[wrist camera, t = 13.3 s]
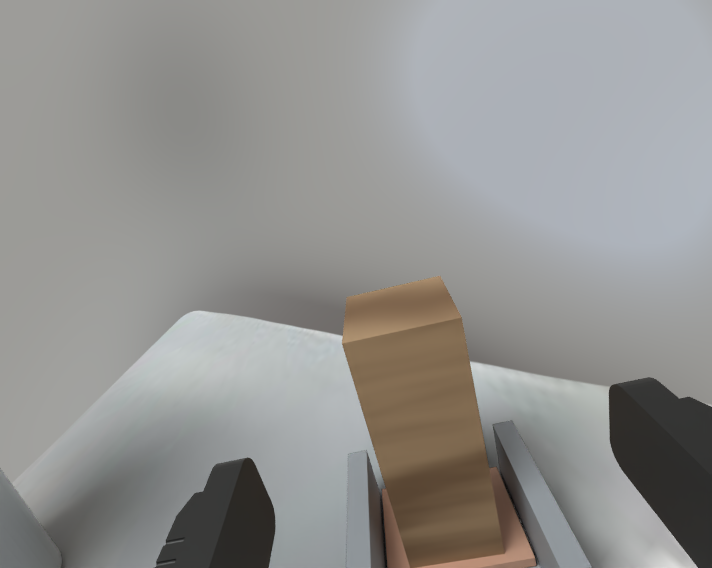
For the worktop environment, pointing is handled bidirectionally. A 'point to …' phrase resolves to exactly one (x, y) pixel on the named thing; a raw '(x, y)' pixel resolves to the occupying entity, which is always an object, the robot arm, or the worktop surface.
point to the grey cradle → (529, 494)
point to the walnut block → (423, 420)
